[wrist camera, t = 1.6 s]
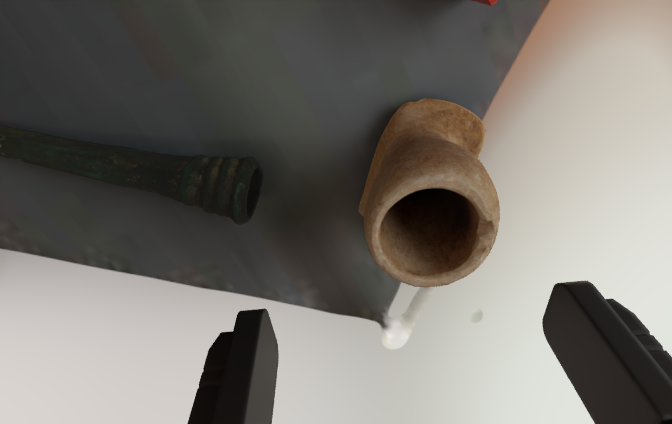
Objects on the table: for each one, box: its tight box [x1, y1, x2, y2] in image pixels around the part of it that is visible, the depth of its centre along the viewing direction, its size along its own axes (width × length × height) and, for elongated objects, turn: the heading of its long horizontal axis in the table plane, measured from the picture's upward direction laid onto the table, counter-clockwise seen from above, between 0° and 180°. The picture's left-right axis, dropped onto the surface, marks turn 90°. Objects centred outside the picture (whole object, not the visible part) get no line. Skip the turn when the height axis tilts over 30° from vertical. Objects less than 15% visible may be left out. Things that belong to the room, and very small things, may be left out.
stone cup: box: [359, 98, 500, 287], centre depth 32 cm, size 15×12×15 cm
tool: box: [0, 126, 263, 225], centre depth 33 cm, size 28×6×7 cm, turn 75°
